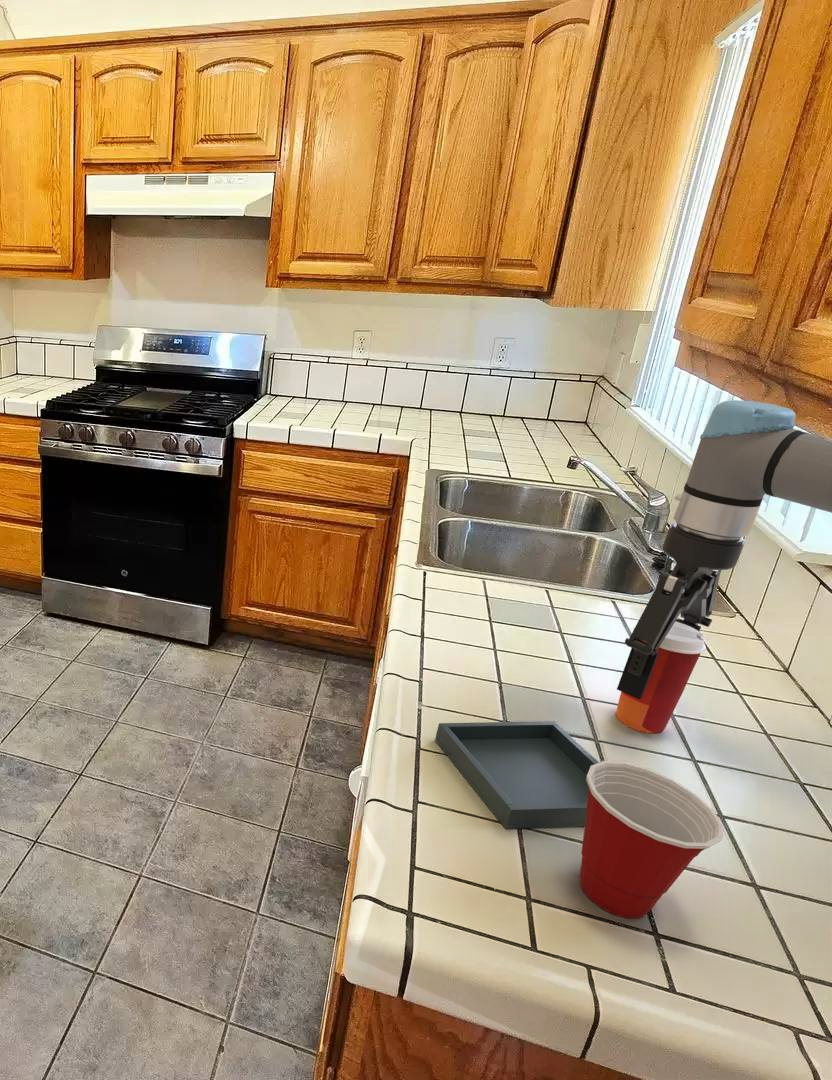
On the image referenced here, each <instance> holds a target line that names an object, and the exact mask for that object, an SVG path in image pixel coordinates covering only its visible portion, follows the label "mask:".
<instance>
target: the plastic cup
mask: <svg viewBox="0 0 832 1080" xmlns="http://www.w3.org/2000/svg"><path fill="white" fill-rule="evenodd" d="M586 781H587V783H588V786H589V787H588V789H589V791H588V802H587V815H586V823H585V826H584V830H583V838H582V846H581V863H580V864H581V865H580V870H579V879H580V881H579V882H580V886H581V889H582V891H583V892H584V894H585V895H586V896H587V897H588V899H589V900H590V901H591V902H592V903H594V904H595V905H597V906H598V907H599V908H601V910H604V911H607V912H609V913H610V914H612V915H614V916H618V917H622V918H625V919H640V918H643V917H644V916H646V915H647V914H648V913H649V912H651V911H652V909H653V908H654V907H655V906H656V904H657V903H658V901H659V900H660V899H661V897H662V896H663V895H664V894H666V893H667V892H668V891H669V889H670V888H671V887H672V886H673V884H674V883H675V882H676V881H677V880H678V878H679V877H680V876H681V875H682V873H683V872H684V871H685V869H686V868H687V867H688V866H689V865H690V863H691V862H692V861H693V860H694V859H695V858H696V857H697V856H699V855H700V853H702V852H703V851H705V850H707V849H709V848H712V846H714V845H717V844H718V843H720V842H722V841H723V839H724V830H725V826H724V825H723V823H722V822H721V820H720V818H719V816H718V815H717V813H716V811H715V810H714V809H713V808H712V807H711V806H710V805H708V804H707V803H706V802H705V801H704V800H703V799H702V798H701V797H700V796H699V795H697V793H695V792H693V791H692V790H690V789H688V788H687V787H685V786H684V785H682V784H680V783H679V782H677V781H676V780H674V779H673V778H671V777H668V776H666V775H663V774H661V773H659V772H657V771H655V770H652V769H650V768H648V767H644V766H640V765H638V764H633V763H629V762H626V761H615V760H614V761H613V760H601V761H599V763H597V764H594V765H592V766H591V767H590V769H589V772H588V774H587V779H586Z"/></svg>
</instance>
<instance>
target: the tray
mask: <svg viewBox="0 0 832 1080" xmlns="http://www.w3.org/2000/svg"><path fill="white" fill-rule="evenodd" d="M434 741H435V742H436V744H437V745H438V746H439V747H440V749H441V750H442V752H444V754H445V755H446V756H447V757H448V759H449V760H450V761H451V762H452V764H453V765H454V766H455V767H456V769H457V770H458V771H459V773H461V775H462V776H463V778H464V779H465V780H466V781H467V783H468V784H469V785H470V786H471V787H472V789H473V790H474V791H475V793H476V794H477V795H478V797H479V798H480V799H481V800H482V801H483V802H484V804H485V805H486V806H487V808H488V809H489V810H490V811H491V813H492V814H493V815H494V816H495V818H496V819H497V820H498V822H499V823H500V824H501V825H502V826H503V828H504V829H505V830H515V829H517V830H518V829H519V830H521V829H542V828H543V829H547V828H548V829H549V828H576V827H577V828H578V827H585V823H586V815H587V802H588V791H589V789H588V787H589V786H588V783H587V781H586V779H587V774H588V772H589V769H590V767H591V766H592V765H594V764H597V763H600V761H598V760H597V759H596V758H595V757H594V756H593V755H592V754H591V753H589V752H588V750H587V749H585V748H584V747H583V746H582V745H581V744H580V743H578V741H576V740H575V738H573V737H572V736H571V735H570V734H569V733H568V732H567V731H566V730H565V729H563V728H562V727H561V725H559V724H558V723H557V722H556V721H555V720H543V721H540V720H539V721H538V720H537V721H536V720H535V721H491V722H490V721H489V722H488V721H487V722H486V721H485V722H483V721H481V722H439V723H438V726H437V730H436V734H435V738H434Z"/></svg>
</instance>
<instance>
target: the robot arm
mask: <svg viewBox="0 0 832 1080" xmlns="http://www.w3.org/2000/svg"><path fill="white" fill-rule="evenodd" d="M795 420H796V413H795V411H794V410H792V409H791V408H788V407H785V406H780V405H777V404H772V403H766V402H759V401H753V400H751V401H750V400H741V399H740V400H738V399H734V400H725V401H722V402H720V403H718V404H717V405H716V406H715V407H714V408H713V410H712V412H711V414H710V416H709V418H708V421H707V423H706V425H705V427H704V430H703V432H702V434H700V437H699V439H700V440H699V443H698V446H697V449H696V451H695V455H694V458H693V460H692V464H691V467H690V470H689V472H688V476H687V479H686V482H685V484H684V486H683V490H682V493H678V494H676V496H674V500H675V501H676V502H678V505H677V506H676V509H675V512H674V515H673V520H674V521H675V522H673V523H672V524H670V525H669V527H668V530H667V532H666V536H665V538H664V541H663V544H662V547H661V549H662V551H663V553H664V554H665V555H666V556H667V557H669V558H672V559H673V560H674V561H675V565H674V567H673V569H669V570H668V571H667V572H664V571H663V572H662V573H661V574H660V575H659V577H658V581H657V584H656V586H655V588H654V590H653V592H652V594H651V596H650V598H649V601H648V602H647V603H646V606H645V608H644V609H643V611H642V613H641V615H640V617H639V619H638V621H637V622H636V625H635V626H634V627H635V628H634V627H633V628H634V630H633V629H632V633H631V634H630V636H629V638H628V637H626V638H625V640H624V645H626V646H627V647H629V648H630V651H629V653H628V657H627V660H626V663H625V665H624V667H623V670H622V673H621V675H620V679H619V682H618V684H617V687H616V690H617V691H619V692H620V693H621V692H624V693H626V694H628V695H630V696H632V697H635V698H637V699H639V700H640V699H642V698H643V695H644V692H645V690H646V687H647V684H648V682H649V679H650V676H651V674H652V671H653V668H654V666H655V663H656V661H657V658H658V655H659V653H657V651H658V648H659V647H660V645H661V644H662V642H663V640H664V639H665V637H666V635H667V634H668V632H669V631H670V629H671V627H672V626H673V624H674V623H675V621H676V622H679V623H682V624H685V625H688V626H690V627H692V628H694V629H696V630H698V631H699V632H700V631H701V629H702V626H703V627H706V628H709V627H710V626H711V624H712V622H713V619H712V618H709V617H710V616H712V614H713V609H714V602H715V600H716V599H715V598H716V595H717V590H718V586H719V580H720V576H721V572H722V571H726V570H732V569H733V568H735V567H736V566H737V564H738V561H739V559H740V557H741V554H742V551H743V549H744V547H745V544H746V542H745V540H744V538H745V537H748V536H750V534H751V530H752V528H753V526H754V523H755V521H756V518H757V516H758V513H759V510H760V507H761V504H762V502H763V499H764V496H765V495H767V496H769V497H773V498H778V499H782V500H784V501H789V502H792V503H796V504H798V505H803V506H806V507H810V508H813V509H816V510H821V511H823V512H827V513H831V514H832V442H829V441H826V440H825V439H823V438H821V437H819V436H816V435H817V434H814V433H809V432H806V431H803V430H800V429H795V428H794V427H795ZM679 616H680V618H679ZM681 618H682V619H681ZM642 640H644V641H642ZM645 641H646V642H645Z"/></svg>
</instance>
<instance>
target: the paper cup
mask: <svg viewBox="0 0 832 1080" xmlns="http://www.w3.org/2000/svg"><path fill="white" fill-rule="evenodd" d="M635 627H636V626H634V627H633V628H632V631H633V630H634V628H635ZM642 641H644V640H642ZM645 642H646V641H645ZM706 651H707V646H706V643H705V640H704V636H703V633H702V632H700V631H698V630H696V629H694V628H692V627H690V626H688V625H685V624H682V623H679V622H676V621H675V623H674V624H673V626H672V627H671V629H670V631H669V632H668V634H667V635H666V637H665V639H664V640H663V642H662V644H661V645H660V647H659V648H658V651H657V653H659V655H658V658H657V661H656V663H655V666H654V668H653V671H652V674H651V676H650V679H649V682H648V684H647V687H646V690H645V692H644V695H643V698H642V699H640V700H639V699H637V698H635V697H632V696H630V695H628V694H626V693H624V692H621V691H620V694H619V700H618V702H617V707H616V713H615V716H616V719H618V721H620V722H621V723H622V724H624V725H625V726H627V727H629V728H631V729H633V730H635V731H637V732H638V731H639V732H642V733H645V734H646V733H647V734H656V735H657V734H661V733H663V732H664V731H665V729H666V727H667V725H668V724H669V721H670V719H671V718H672V715H673V713H674V712H675V709H676V708H677V705H678V703H679V701H680V699H681V697H682V695H683V693H684V690H686V689H685V688H686V687H687V684H688V681H689V679H690V678H691V675H692V673H693V671H694V669H695V667H696V665H697V663H698V661H699V658H700V656H701V654H702V653H705V652H706Z"/></svg>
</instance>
